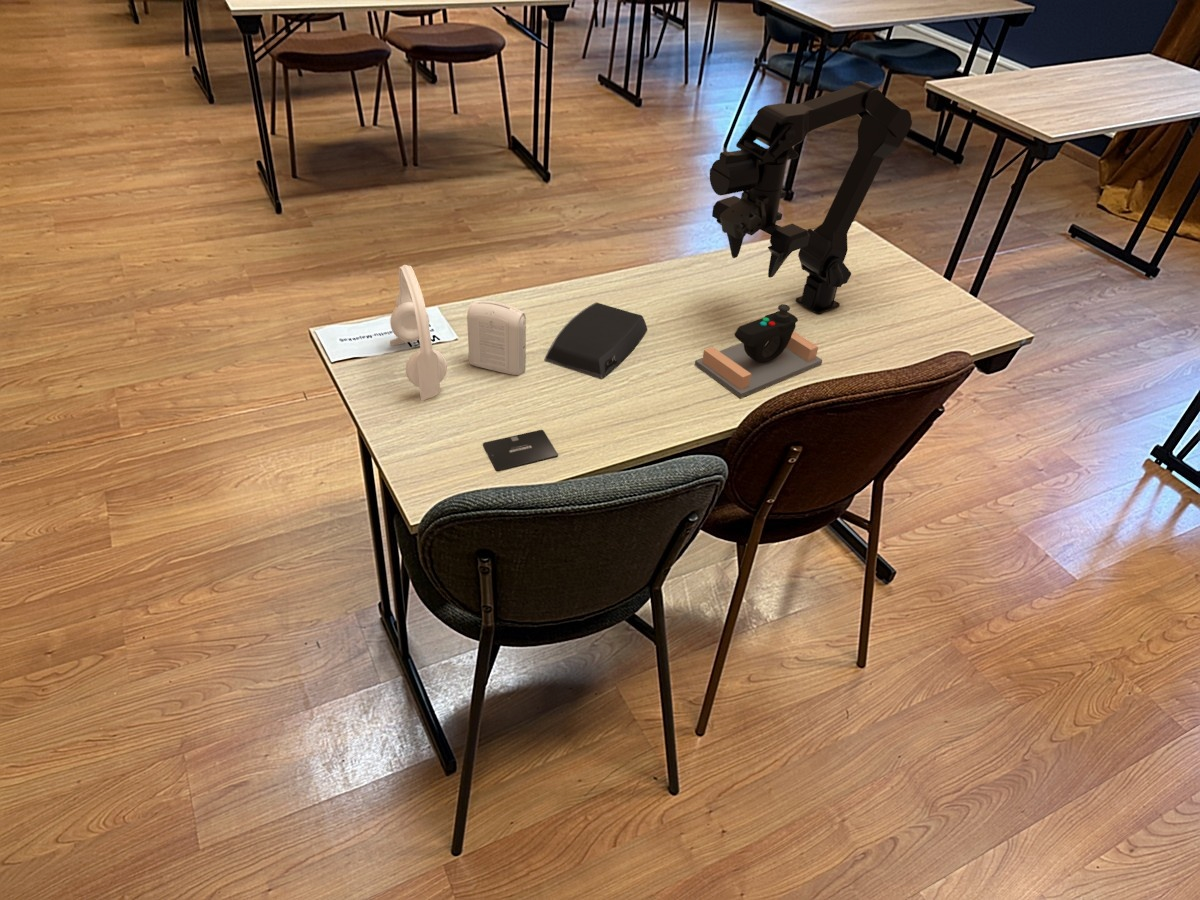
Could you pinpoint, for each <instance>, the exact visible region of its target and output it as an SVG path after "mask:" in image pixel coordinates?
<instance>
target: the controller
mask: <svg viewBox="0 0 1200 900" xmlns="http://www.w3.org/2000/svg"><path fill="white" fill-rule="evenodd" d="M777 306H778V307H777V309H778V310H777V311H775V312H772V313H770V314H766V315H765V316H764V317H762V318H758V319H756V320H754V321H753V320H752V321H751V322H748V323H745V324H743V325H741V326H738V327H737V329H736V331H735V332H734V337H735V338H736V339H737V340H738V341H739V342H740V343H744V349H745V352H746V354H747V355H748V356H749V357H750V358H752V359H753V360H755V361H756V362H760V363H766V362H769V361H772V360H774V359H775V358H777V357H778V356H779V355H780V354H781V353H782V352H783V351H784V349H785V348H786V346H787V345H788V343H789V341H790V339H791V336H792V334H793V331H794V332H795V328H796V323H797V322H798V320H799V319H798V317H796V316H795V315H794V314H792V313H790V312H789V311H790V310H791V307H790V306H789V305H788V304H786V303H785V304H783V303H781V304H779V305H777ZM768 341H769V342H768ZM767 342H768V343H767ZM766 343H767V344H766ZM765 345H766V346H765Z"/></svg>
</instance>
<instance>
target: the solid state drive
mask: <svg viewBox="0 0 1200 900" xmlns="http://www.w3.org/2000/svg"><path fill="white" fill-rule="evenodd" d="M482 446H483V448H484V450H485V452H486V455H487V456H488V458H489V460H490V462H491V463H492V466H493V468H494V470H495V471H496V472H501V471H505V470H510V469H515V468H518V467H519V468H520V467H523V466H527V465H530V464H536V463H539V462H543V461H547V460H552V459H556V458H558V457H559V454H558V452H557V450H556V449H555V447H554V445H553V444H552V441H550V439H549V437H548V436H547V434H546V433H545V431H544V430H543V429H537V430H533V431H529V432H525V433H519V434H517V435H516V434H515V435H512V436H508V437H503V438H497V439H494V440H489V441H485V442H483V443H482Z"/></svg>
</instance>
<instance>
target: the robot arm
mask: <svg viewBox="0 0 1200 900" xmlns="http://www.w3.org/2000/svg"><path fill="white" fill-rule="evenodd" d="M855 115H857V116H858V117H859V119H860V122H859V124H858V127H857V132H856V133H857V134H856V135H857V150H856V152H855V154H854V155H853V156H854V157H853V158H852V159H851V160H852V161H851V163H850V165H849V167H848V168H847V171H846V173H845V175H844V176H843V177H844V178H843V179H842V182H841V183H840V186H839V188H838V190H837V192H836V194H835V196H834V199H833V201H832V203H831V206H830V207H829V209H828V212H827V214H826V216H825V218H824V220H823V221H822V223H821V224H820V225H819V226H816V227H815V228H814V229H811V228H808V229H806V228H805V229H804V228H803V227H800V226H799V225H797V224H795V223H790V224H787V225H784V226H781V225H778V224H777V222H778V221H780V220H782V219H783V213H781V212H779V209H780V204H781V199H785V198H786V195H787V191H786V190H783V186H784V181H785V174H786V169H787V164H788V160H795V159H798V157H799V156H800V155H799V153H798V152H797V151H796V150H795V149H794V147H795V146H796V145H798V144H800V143H802V142H803V141H804V140H805V138H806V137H807V135H808V134H809V133H811V132H812V131H815V130H818V129H821V128H822V127H823V128H824V127H825V126H828V125H832V124H834V123H837V122H839V121H842V120H845V119H848V118H851V117H853V116H855ZM912 124H913V120H912V114H911V113H910V111H909V110H908V109H906V108H905V107H901V106H900V105H897V104H896V103H894V102H893V101H892V100H890V99H889V98H887V97H886V96H885V94H884V93H883V92H882V91H880V89H879V87H876V86H873V85H872V84H869V83H866V82H864V81H861V80H860V81H854V82H852V84H850V85H849V86H846V87H843V88H841V89H838V90H835V91H832V92H829V93H826V94H823V95H821V96H818V97H815V98H813V99H812V98H811V99H809V100H806V101H804V102H800V103H782V102H781V103H774V104H768V105H764V106H762V107H761V108H759V109H758V110H757V112H756V115H755V116H754V118H753V119H752V121H751V122H750V123H749V125H748V127H747V128H746V129H745V131H744V133H743V134H742V136H741V137H740V138H739V139H738V141H737V142H736V145H735V146H736V148H738V149H739V150H732V151H721V152H720V153H719V158H718V159H717V160H715V161H714V162H713V163H712V166H711V167H710V169H709V182H710V185H711V188H712V190H713V192H714V193H715V194H716V195H718V196H726V195H731V194H736V193H740V192H741V197H738V196H736V195H733V196H728V197H727V198H722V199H720V200H717V201H716V202H715V203H714V204H713V206H712V214H711V216H712V218H714V219H716V223H718V224H719V225H720V226H721V230H722V231H721V232H723V233H724V234H726V235H727V240H728V244H729V249H730V254H731V257H732V258H733V259H736V258H737V257H738V256H739V254H740V251H741V249H742V244H743V240H744V238H745V236H746V235H749V236H754V235H755V234H756V233H757V232H759V231H763V232H764V233H767V234H768V235H770V237H769V243H770V245H769V246H767V250H769V252H770V258H769V259H770V260H769V266H768V272H767V274H768V276H767V277H768V278H769V279H771V278H773V277H775V275H776V274H777V272H778V271H779V269H780V268H781V266H782V265H783V264H784V263H785V262H786V260H787V258H788V257H789V256H790V255H791V254H792V253H793V252H795V251H798V250H799V251H798V256H797V257H798V259H799V262H800V266H801V270H802V271H804V272H806V273H807V274H808V275H807V276H806V280H805V284H804V286H803V291H802V293H801V294H802V295H801V296H798V297H796V298H795V302H796V303H799V304H800V305H802V306H803V307H805V308H806V309H808V310H810V311H812V312H813V313H816V314H817V315H820V314H822V313H825V312H828V311H830V310H833V309H836V308H839V307H840V305H841V304H840V303H839V302H838V301H836V300H835V299H836V295H837V291H838V288H841V287H842V286H843V285H845V284H847V283H848V281H849V279H850V278H851V276H852V272H851V271H850V270H849V268H848V267H847V266H846V264H845V263H844V261H845V259H846V256H847V253H848V233H849V230H850V228H851V226H852V224H853V223H854V220H855V217H856V216H857V214H858V212H859V210H860V208H861V207H862V204H863V203H864V200H865V198H866V196H867V193H868V192H869V190H870V188H871V185H872V183H873V182H874V179H875V177H876V175H877V174H878V171H879V169H880V167H881V165H882V163H883V161H884V160H885V159H886V158H887V157H889V156H890V155H892V153H894V152H895V151H897V149H899V147H900V146H901V145H902V143H903V142H904V140H905V139H906V137H907V135H908V133H909V132H910V130H911V128H912ZM756 140H757V141H759V142H760V143H763V144H764V145H766V146H768V147H764V146H762V145H760V144H758V143H757V142H755V141H756Z"/></svg>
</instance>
